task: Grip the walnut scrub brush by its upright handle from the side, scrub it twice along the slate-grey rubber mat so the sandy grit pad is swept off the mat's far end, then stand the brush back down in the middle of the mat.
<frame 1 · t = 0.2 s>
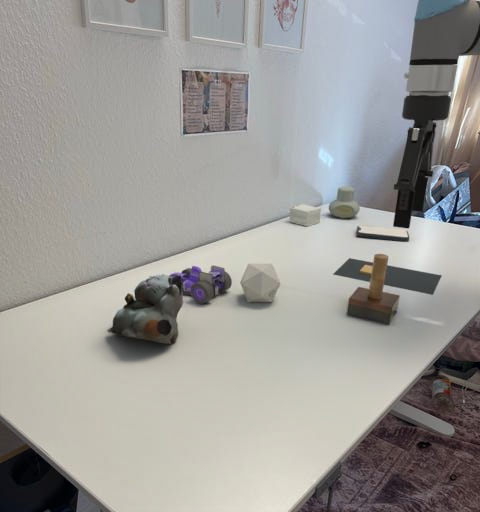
hand: (408, 218, 90), 21 cm above the table, tool pointing down, fingers open, 13 cm apart
die: (259, 300, 108), on the table
phone case: (381, 236, 153), on the table
small box: (304, 222, 165), on the table
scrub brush: (371, 313, 102), on the table
grit pad: (371, 271, 122), point 1 cm above the table, touching mat
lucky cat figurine: (147, 336, 92), on the table
mat: (386, 278, 121), on the table
toy race car: (193, 292, 111), on the table
air freshener: (342, 217, 173), on the table
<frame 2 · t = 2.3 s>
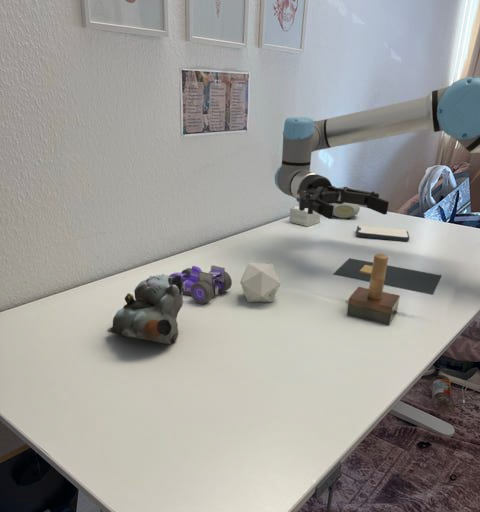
hand: (359, 210, 101), 20 cm above the table, tool horizontal, fingers open, 13 cm apart
nothing on the table moved.
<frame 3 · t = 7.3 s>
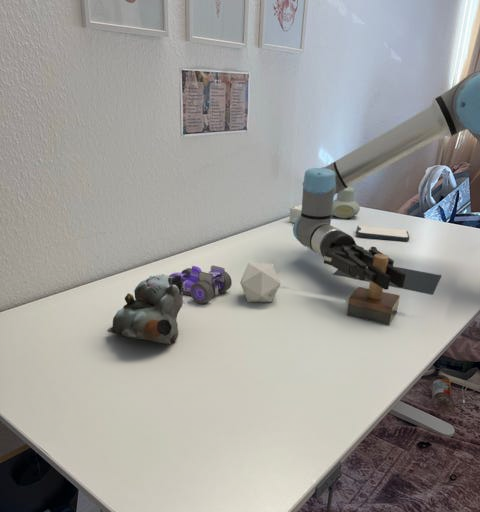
hand: (395, 282, 94), 10 cm above the table, tool horizontal, fingers closed on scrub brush, 3 cm apart
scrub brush: (371, 313, 102), on the table, touching gripper
everything else where it was.
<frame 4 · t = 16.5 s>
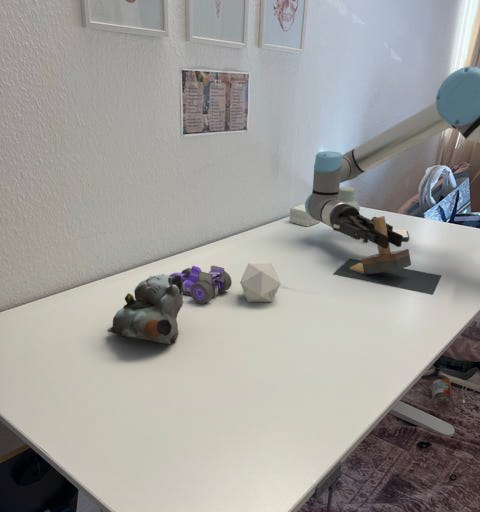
hand: (393, 241, 113), 11 cm above the table, tool horizontal, fingers closed on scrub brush, 3 cm apart
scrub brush: (387, 269, 118), point 3 cm above the table, tilted 23°, touching gripper, grit pad
grit pad: (363, 269, 123), point 1 cm above the table, touching mat, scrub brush
everything else where it was.
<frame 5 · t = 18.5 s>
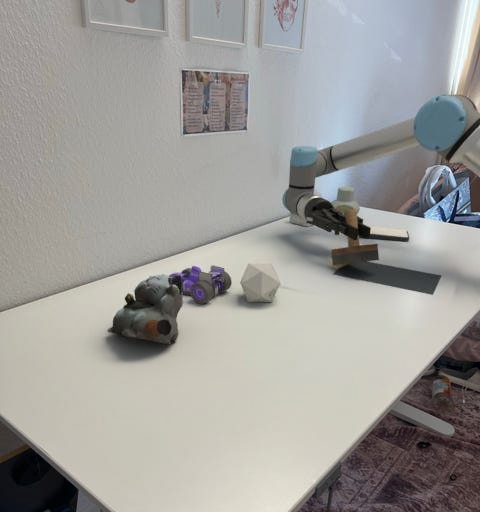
hand: (362, 233, 115), 11 cm above the table, tool horizontal, fingers closed on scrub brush, 3 cm apart
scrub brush: (355, 262, 120), point 4 cm above the table, tilted 23°, touching gripper
grit pad: (336, 265, 126), point 1 cm above the table, tilted 12°, touching mat
everything else where it was.
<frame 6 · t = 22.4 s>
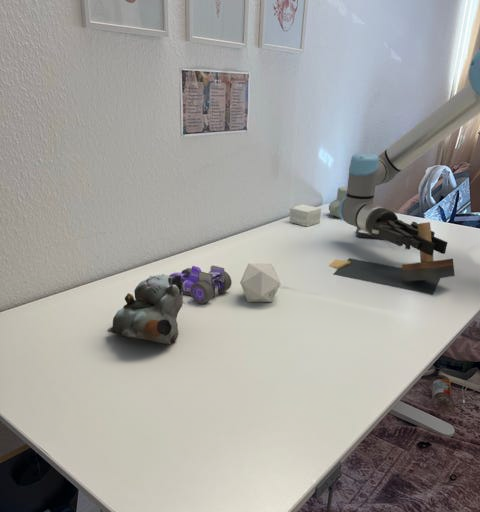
hand: (438, 248, 108), 11 cm above the table, tool horizontal, fingers closed on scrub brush, 3 cm apart
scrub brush: (428, 278, 113), point 3 cm above the table, tilted 23°, touching gripper, mat
everything else where it was.
when the fingers open (10 cm above the table, at t = 28.1 s): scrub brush drops 2 cm, resting on mat.
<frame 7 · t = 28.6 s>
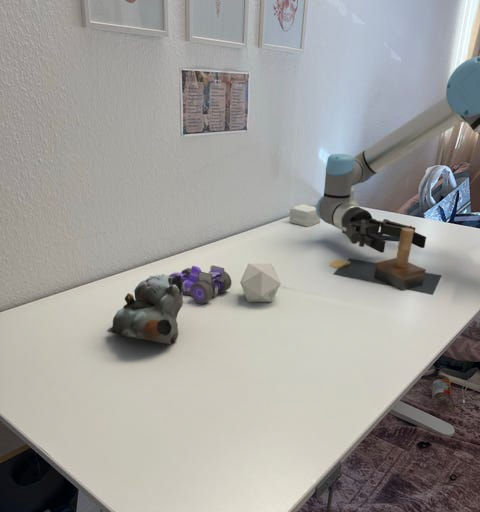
hand: (404, 244, 113), 10 cm above the table, tool horizontal, fingers open, 11 cm apart
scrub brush: (398, 281, 116), point 1 cm above the table, touching mat
everything else where it was.
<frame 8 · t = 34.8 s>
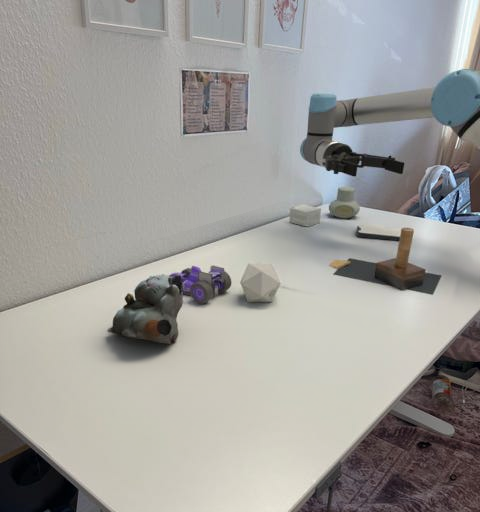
hand: (379, 169, 117), 25 cm above the table, tool horizontal, fingers open, 13 cm apart
nothing on the table moved.
at the end: grit pad inside the target area (9.6 cm from its centre), point 0.7 cm above the table; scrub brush inside the target area on the mat (4.4 cm from its centre), point 1.0 cm above the mat's base; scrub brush tilted 0° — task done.
